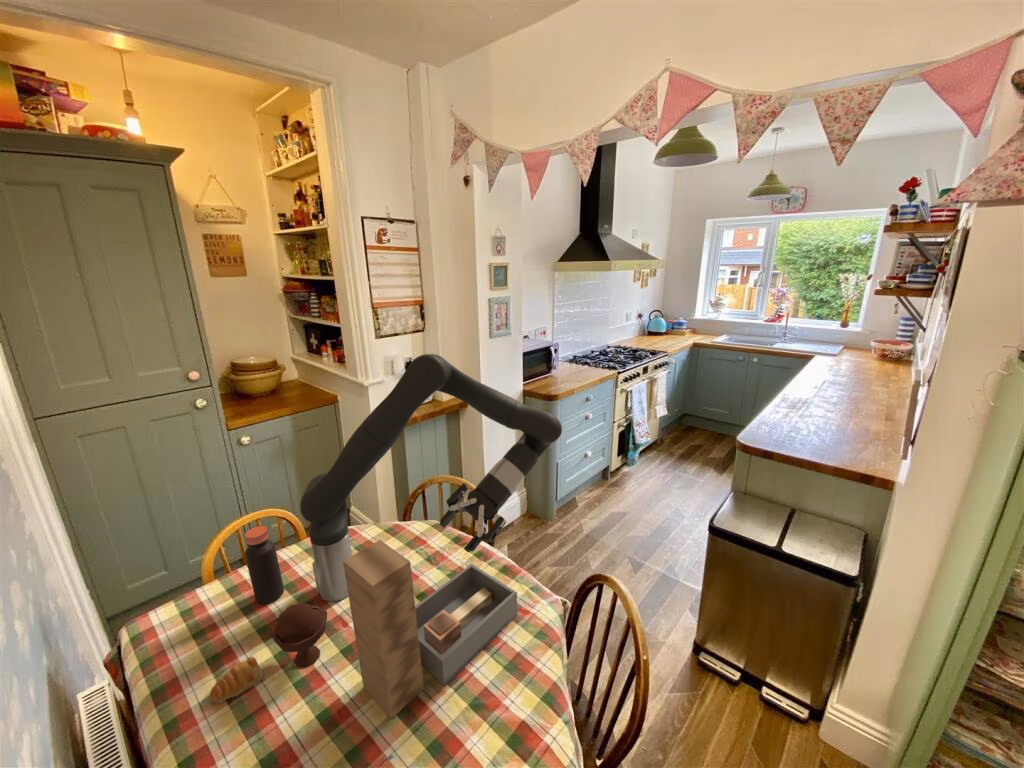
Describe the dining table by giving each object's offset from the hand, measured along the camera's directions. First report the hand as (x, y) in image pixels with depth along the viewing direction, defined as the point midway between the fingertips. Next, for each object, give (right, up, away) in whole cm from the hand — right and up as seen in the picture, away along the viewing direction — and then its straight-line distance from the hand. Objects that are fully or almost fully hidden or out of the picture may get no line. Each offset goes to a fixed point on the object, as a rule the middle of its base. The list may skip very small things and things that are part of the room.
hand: (453, 538), depth 95 cm
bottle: (-52, -23, +19) cm, 60 cm away
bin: (+1, -25, +8) cm, 26 cm away
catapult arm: (+1, -23, +9) cm, 25 cm away
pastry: (-45, -30, -4) cm, 54 cm away
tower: (-12, -29, -6) cm, 32 cm away
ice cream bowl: (-33, -28, +1) cm, 43 cm away
